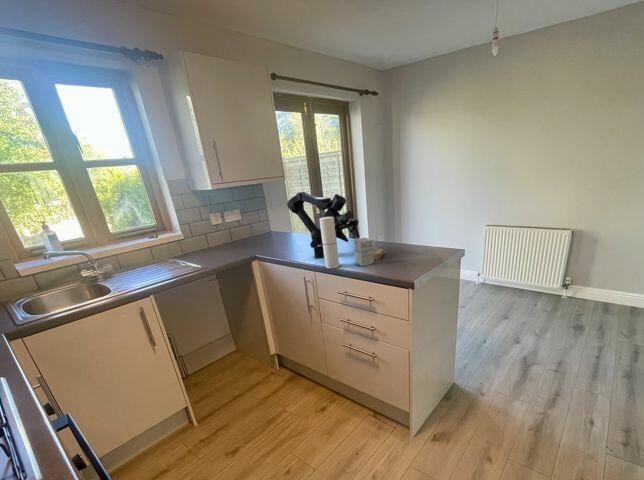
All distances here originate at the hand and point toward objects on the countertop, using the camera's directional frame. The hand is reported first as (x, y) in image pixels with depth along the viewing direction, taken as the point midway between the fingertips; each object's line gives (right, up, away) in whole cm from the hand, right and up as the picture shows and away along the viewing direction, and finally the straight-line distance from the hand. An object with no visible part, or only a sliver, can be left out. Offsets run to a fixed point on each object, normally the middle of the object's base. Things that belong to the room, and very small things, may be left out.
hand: (353, 239), depth 162 cm
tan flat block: (+10, -7, +12) cm, 17 cm away
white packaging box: (+6, -13, +1) cm, 14 cm away
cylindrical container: (-11, -14, +2) cm, 18 cm away
